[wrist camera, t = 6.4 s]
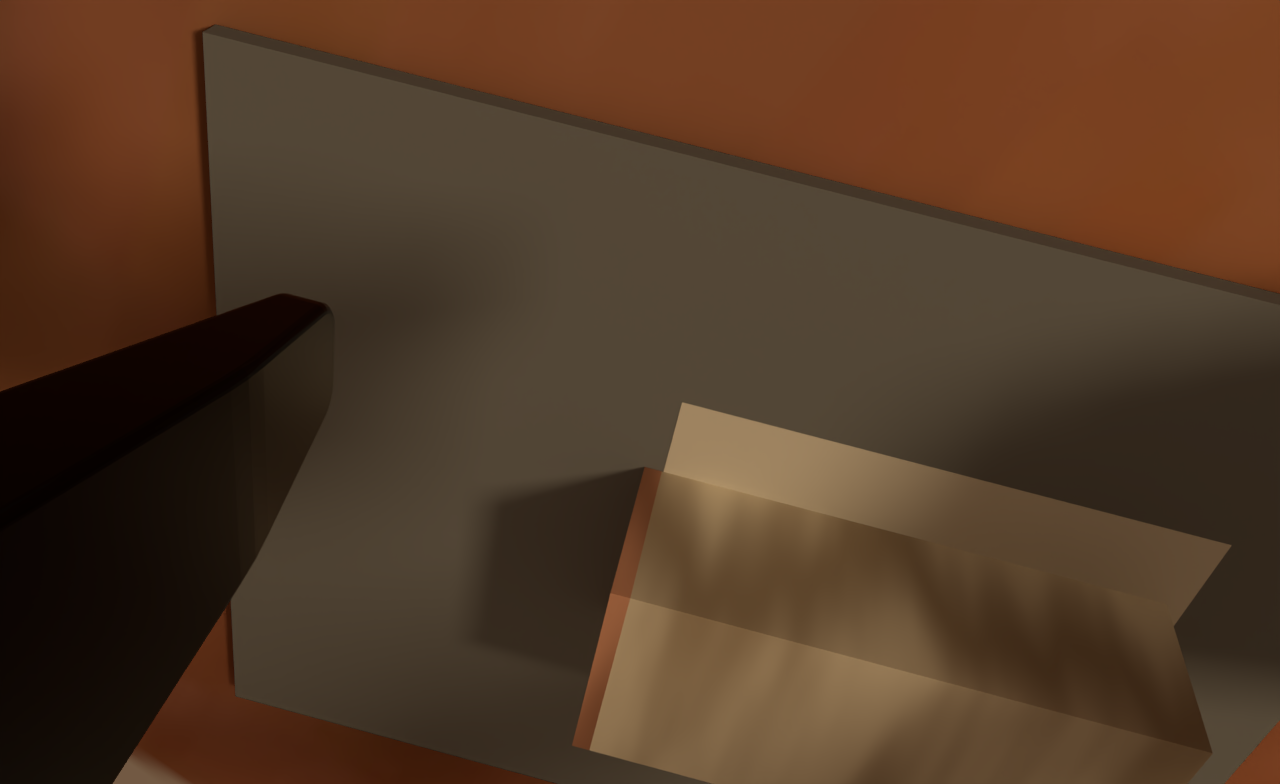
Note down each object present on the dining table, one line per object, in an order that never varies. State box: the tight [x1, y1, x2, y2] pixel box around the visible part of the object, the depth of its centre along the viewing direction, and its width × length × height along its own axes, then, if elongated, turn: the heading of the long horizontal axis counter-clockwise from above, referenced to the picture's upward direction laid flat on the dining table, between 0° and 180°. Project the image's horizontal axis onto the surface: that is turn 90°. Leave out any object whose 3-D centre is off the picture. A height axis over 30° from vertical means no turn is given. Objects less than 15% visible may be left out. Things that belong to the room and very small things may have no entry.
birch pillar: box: [572, 467, 1213, 784], centre depth 24 cm, size 4×5×12 cm
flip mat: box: [203, 25, 1280, 784], centre depth 26 cm, size 26×20×1 cm
